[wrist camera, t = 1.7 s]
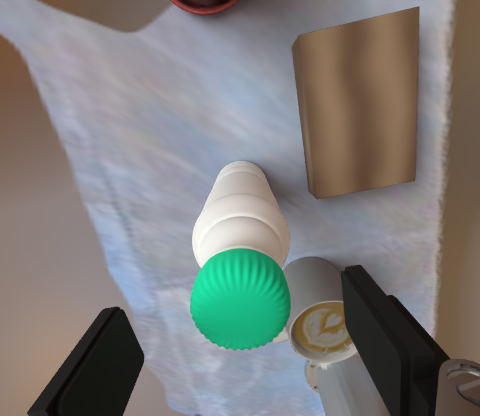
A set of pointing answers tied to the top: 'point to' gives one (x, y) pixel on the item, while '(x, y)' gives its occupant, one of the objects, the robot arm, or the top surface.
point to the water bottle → (241, 261)
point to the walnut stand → (359, 103)
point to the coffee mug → (316, 312)
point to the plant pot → (204, 6)
